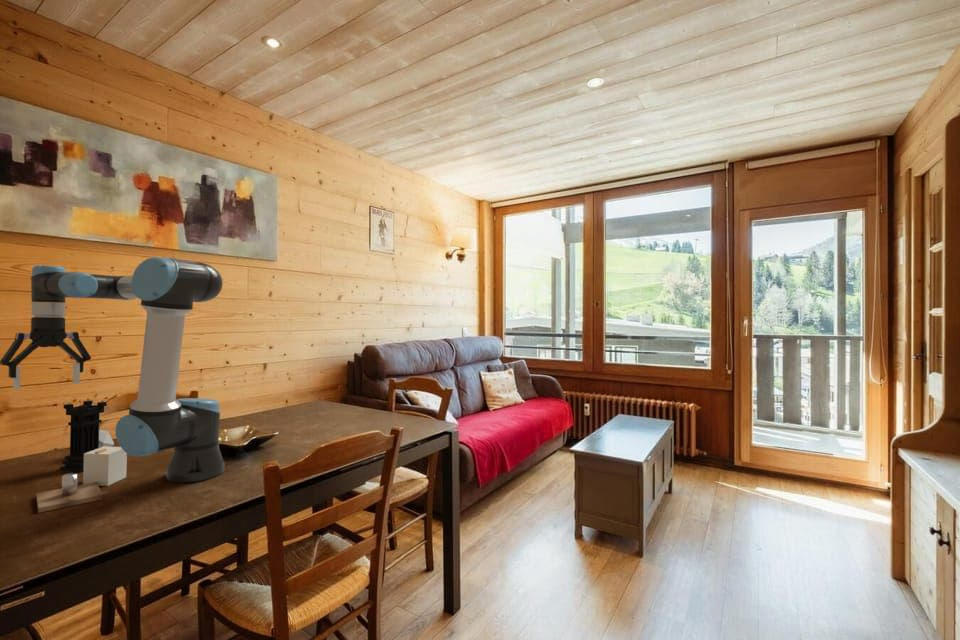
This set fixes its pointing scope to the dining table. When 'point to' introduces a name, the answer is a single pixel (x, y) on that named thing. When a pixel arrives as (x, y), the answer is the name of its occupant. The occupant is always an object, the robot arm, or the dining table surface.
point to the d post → (69, 484)
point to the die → (105, 439)
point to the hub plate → (68, 497)
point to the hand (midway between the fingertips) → (47, 385)
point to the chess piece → (82, 433)
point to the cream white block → (105, 465)
